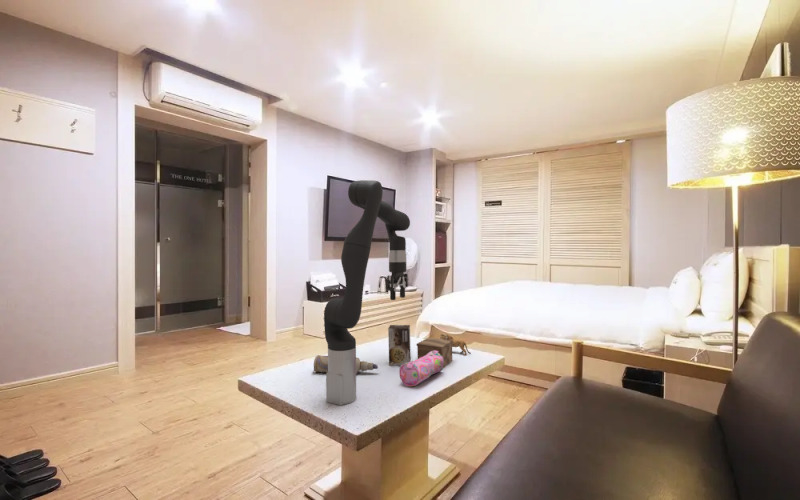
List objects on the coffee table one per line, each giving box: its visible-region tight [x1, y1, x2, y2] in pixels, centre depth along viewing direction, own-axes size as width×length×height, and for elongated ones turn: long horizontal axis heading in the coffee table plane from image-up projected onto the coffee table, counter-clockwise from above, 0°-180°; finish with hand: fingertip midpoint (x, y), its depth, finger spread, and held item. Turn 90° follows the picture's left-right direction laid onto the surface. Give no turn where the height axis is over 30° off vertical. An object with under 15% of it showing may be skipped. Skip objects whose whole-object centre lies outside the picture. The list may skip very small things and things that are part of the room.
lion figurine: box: [439, 332, 472, 356], centre depth 174 cm, size 15×5×9 cm, turn 70°
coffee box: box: [387, 324, 412, 367], centre depth 160 cm, size 9×6×16 cm
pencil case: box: [398, 350, 444, 387], centre depth 142 cm, size 21×9×9 cm, turn 146°
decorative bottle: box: [313, 354, 379, 375], centre depth 149 cm, size 26×8×7 cm, turn 81°
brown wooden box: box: [416, 336, 453, 368], centre depth 160 cm, size 13×12×9 cm
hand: (397, 298), depth 160 cm, fingers open, 8 cm apart
